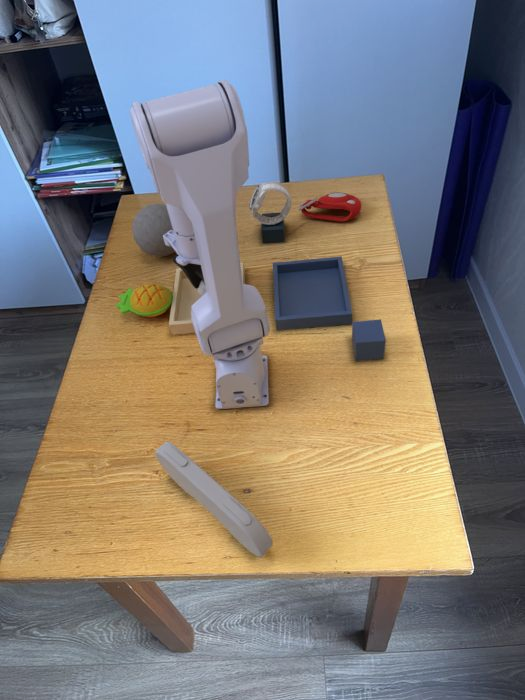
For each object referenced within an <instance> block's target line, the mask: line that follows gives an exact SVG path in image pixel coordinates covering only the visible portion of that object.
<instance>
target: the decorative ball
mask: <svg viewBox="0 0 525 700" xmlns="http://www.w3.org/2000/svg"><path fill="white" fill-rule="evenodd" d="M131 230H132V231H131V232H132V237H133V239H134V241H135V243H136V245H137V246H138V248H140V250H142V251H143V252H144V253H146V254H147V255H150V256H152V257H167V256H170V255H172V254H173V253H176V252H175V250H174V249H173V248H172V246H167V245H165V242H164V238H163V235H165V234H166V233H167V232H169V231H170V230H173V228H172V224H171V221H170V217H169V214H168V210H167V207H166V204H165V203H152V204H148V205H147V206H144V207H142V208H141V209H140V210H139V211H138V212H137V214H135V216H134V218H133V222H132V227H131Z"/></svg>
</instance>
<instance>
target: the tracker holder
mask: <svg viewBox="0 0 525 700" xmlns="http://www.w3.org/2000/svg"><path fill="white" fill-rule="evenodd" d="M298 207H299V208H298V211H300V212H301V213H302V214H303V216H306V217H308V218H312V219H315V220H323V221H324V220H325V221H333V222H339V223H340V222H346V221H350V220H353V219H355V218H357V217H358V216H359V214H360V212H361V210H362V202H361V200H360V199H359V197H357V196H355V195H352V194H348V193H346V192H339V191H338V192H330V193H327V194H326V195H323V196H320V197H319V198H318V197H315V198H313V199H308V200H305V201H304V202H302V203H301V204H300V205H299V206H298ZM312 207H313V208H315V209H323V210H324V209H325V210H326V209H327V210H344V211H348V212H350V213H349V214H348V216H342V215H334V214H333V215H332V214H323V213H315V212H311V211H309V210H311V209H312Z"/></svg>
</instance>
